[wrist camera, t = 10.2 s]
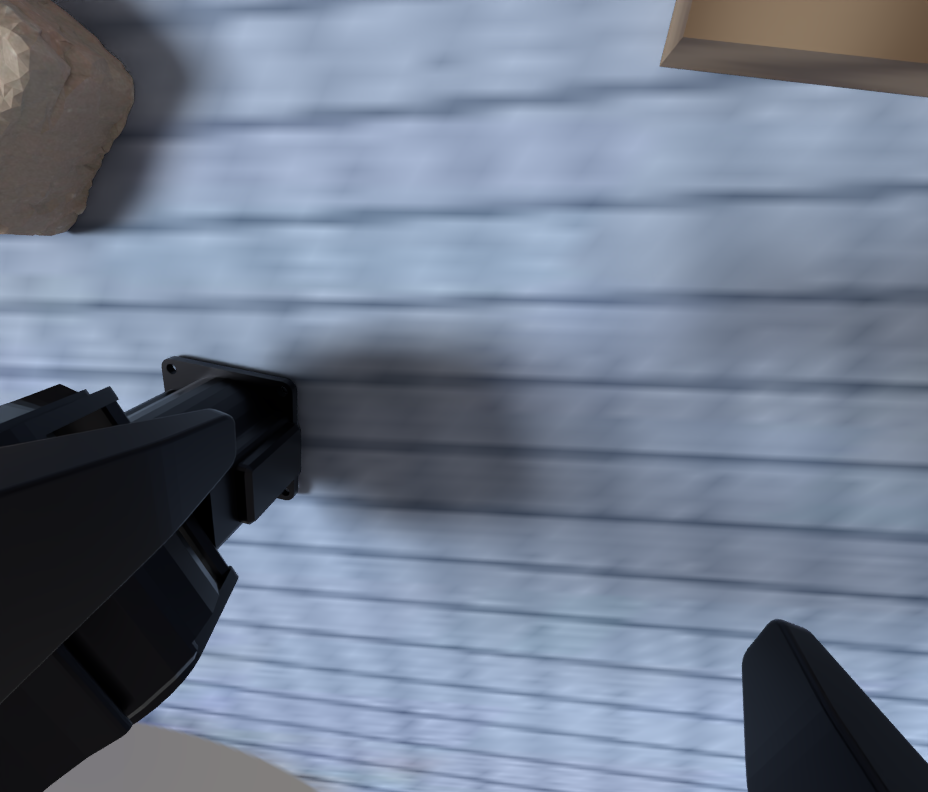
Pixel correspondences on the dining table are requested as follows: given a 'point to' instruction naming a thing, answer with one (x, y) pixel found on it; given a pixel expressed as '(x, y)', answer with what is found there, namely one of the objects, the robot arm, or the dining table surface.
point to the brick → (53, 115)
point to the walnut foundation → (805, 41)
